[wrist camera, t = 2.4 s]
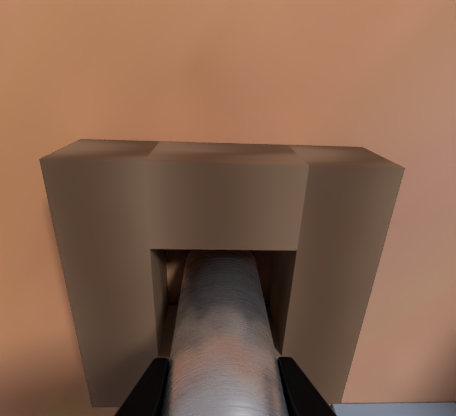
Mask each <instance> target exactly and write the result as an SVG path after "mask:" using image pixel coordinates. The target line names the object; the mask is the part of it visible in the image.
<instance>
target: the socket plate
mask: <svg viewBox="0 0 456 416" xmlns="http://www.w3.org/2000/svg"><path fill="white" fill-rule="evenodd" d="M332 410H333V411H334V413H335V414H336V415H337V416H456V402H443V403H372V404H333V405H332Z"/></svg>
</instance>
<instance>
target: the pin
mask: <svg viewBox="0 0 456 416" xmlns="http://www.w3.org/2000/svg"><path fill="white" fill-rule="evenodd" d="M161 416H289V414H288V409H287V405H286V400H285V395H284V391H283V386H282V381H281V377H280V372H279V367H278V363H277V358H276V353H275V349H274V344H273V340H272V335H271V330H270V326H269V321H268V316H267V312H266V307H265V302H264V298H263V293H262V288H261V284H260V279H259V274H258V270H257V265H256V261H255V258H254V255H253V253H252V252H251V251H250V250H200V249H192V250H191V251H190V253H189V254H188V256H187V258H186V262H185V267H184V273H183V279H182V285H181V292H180V298H179V304H178V310H177V316H176V323H175V329H174V335H173V341H172V347H171V354H170V360H169V367H168V373H167V379H166V385H165V391H164V398H163V404H162V410H161Z"/></svg>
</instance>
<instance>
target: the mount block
mask: <svg viewBox="0 0 456 416" xmlns="http://www.w3.org/2000/svg"><path fill="white" fill-rule="evenodd" d="M39 160H40V165H41V169H42V174H43V179H44V183H45V188H46V193H47V198H48V202H49V207H50V212H51V216H52V221H53V226H54V230H55V235H56V240H57V245H58V249H59V254H60V259H61V263H62V268H63V273H64V277H65V282H66V287H67V291H68V296H69V301H70V306H71V310H72V315H73V320H74V324H75V329H76V334H77V338H78V343H79V348H80V352H81V357H82V362H83V367H84V371H85V376H86V381H87V385H88V390H89V395H90V399H91V404H92V407H121V405H122V404H123V402H124V401H125V400H126V398H127V397H128V395H129V394H130V392H131V391H132V389H133V388H134V386H135V385H136V384H137V382H138V381H139V379H140V378H141V376H142V375H143V373H144V372H145V371H146V369H147V368H148V366H149V365H150V363H151V362H152V361H153V359H154V358H157V357H167V358H168V359H169V360H170V354H171V347H172V341H173V335H174V329H175V323H176V316H177V310H178V305H169V304H168V285H167V266H166V249H200V250H276V255H275V263H274V272H273V281H272V290H271V299H270V305H265V307H266V312H267V316H268V321H269V326H270V330H271V335H272V340H273V344H274V349H275V353H276V358H277V359H278V357H292V358H293V359H294V360H295V362H296V363H297V364H298V366H299V367H300V368H301V370H302V371H303V372H304V373H305V375H306V376H307V377H308V379H309V380H310V381H311V383H312V384H313V385H314V386H315V388H316V389H317V390H318V392H319V393H320V394H321V396H322V397H323V398H324V399H325V401H326V402H327V403H328V404H341V400H342V396H343V393H344V389H345V385H346V382H347V378H348V374H349V371H350V367H351V363H352V360H353V356H354V352H355V349H356V345H357V341H358V338H359V334H360V330H361V327H362V323H363V319H364V316H365V312H366V308H367V305H368V301H369V297H370V294H371V290H372V286H373V283H374V279H375V275H376V272H377V268H378V264H379V261H380V257H381V253H382V250H383V246H384V242H385V239H386V235H387V231H388V228H389V224H390V220H391V217H392V213H393V209H394V206H395V202H396V198H397V195H398V191H399V187H400V184H401V180H402V176H403V173H404V169H405V168H404V167H402V166H400V165H398V164H395V163H393V162H391V161H389V160H387V159H385V158H383V157H381V156H379V155H377V154H375V153H373V152H371V151H369V150H367V149H365V148H363V147H340V146H304V145H268V144H232V143H196V142H160V141H124V140H89V139H80V140H78V141H76V142H74V143H72V144H70V145H68V146H66V147H63V148H61V149H59V150H57V151H55V152H53V153H51V154H49V155H47V156H45V157H43V158H41V159H39Z"/></svg>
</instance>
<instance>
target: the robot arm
mask: <svg viewBox="0 0 456 416" xmlns="http://www.w3.org/2000/svg"><path fill="white" fill-rule="evenodd" d="M277 363H278V367H279V372H280V377H281V381H282V386H283V391H284V395H285V400H286V405H287V409H288V414H289V416H337V415H336V414H335V413H334V411H333V410H332V409H331V407H330V406H329V405H328V403H327V402H326V401H325V399H324V398H323V397H322V396H321V394H320V393H319V392H318V390H317V389H316V388H315V386H314V385H313V384H312V383H311V381H310V380H309V379H308V377H307V376H306V375H305V373H304V372H303V371H302V370H301V368H300V367H299V366H298V364H297V363H296V362H295V360H294V359H293V358H292V357H278V359H277ZM168 367H169V359H168V358H167V357H157V358H154V359H153V361H152V362H151V363H150V365H149V366H148V368H147V369H146V371H145V372H144V373H143V375H142V376H141V378H140V379H139V381H138V382H137V384H136V385H135V386H134V388H133V389H132V391H131V392H130V394H129V395H128V397H127V398H126V400H125V401H124V402H123V404H122V405H121V407H120V408H119V410H118V411H117V413H116V414H115V415H114V416H161V410H162V404H163V398H164V391H165V385H166V379H167V373H168Z"/></svg>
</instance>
